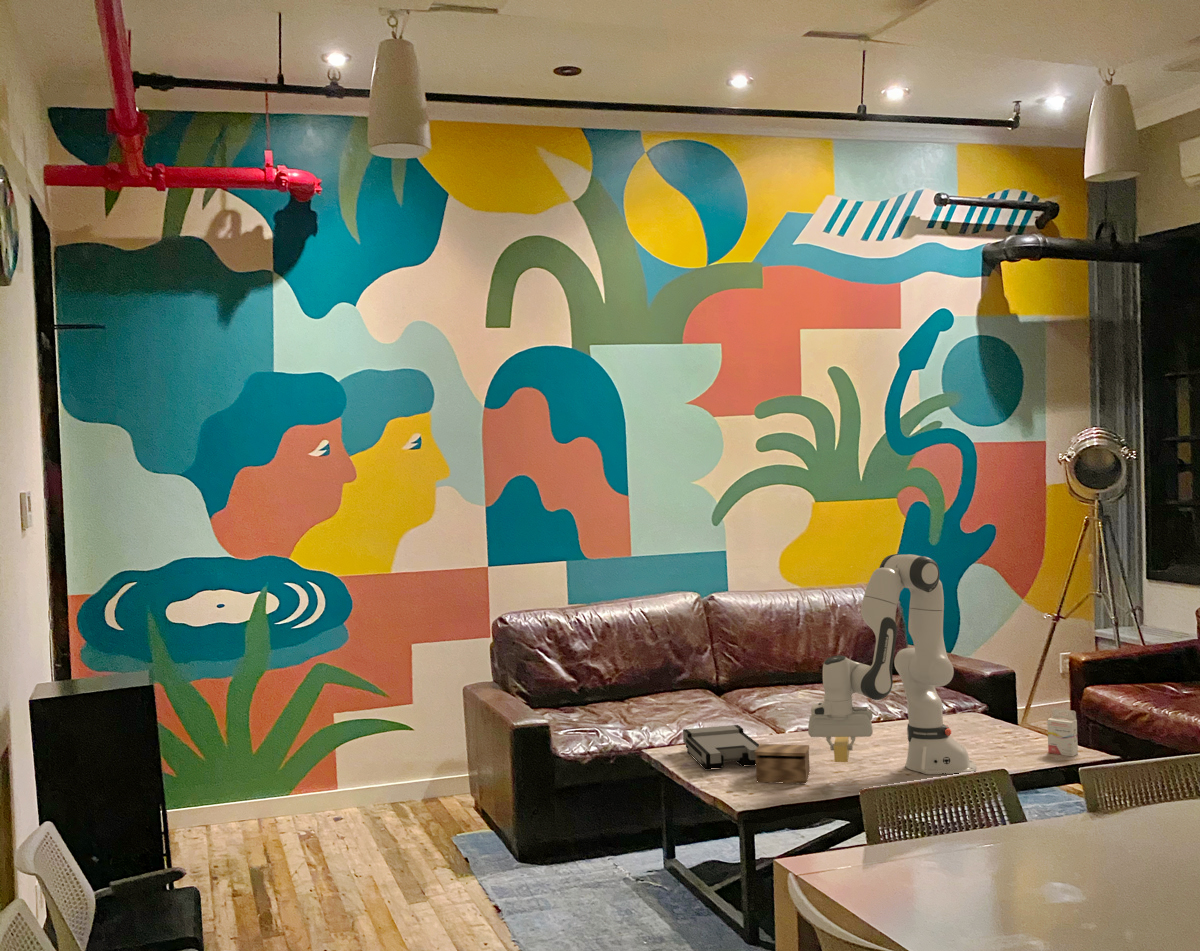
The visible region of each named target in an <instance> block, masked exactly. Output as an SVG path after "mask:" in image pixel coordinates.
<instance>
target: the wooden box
mask: <svg viewBox="0 0 1200 951" xmlns="http://www.w3.org/2000/svg"><path fill="white" fill-rule="evenodd" d="M755 760H756V765H755V777H756V778H755V779H756V781H755V782H756V783H757V781H758V782H783V783H782V784H788V783H806V782H807V783H808V780H809V776H810V773H809V772H811V770H810V767H811V766H810V749H809V750H808V752H807V754H806V756H771V755H757V756H756V758H755ZM808 775H809V776H808ZM807 779H808V780H807ZM807 783H806V784H807Z"/></svg>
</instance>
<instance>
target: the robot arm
mask: <svg viewBox="0 0 1200 951" xmlns="http://www.w3.org/2000/svg"><path fill="white" fill-rule="evenodd" d="M939 568H940V567H939V566H938V563H937V562H936V561H935V560H934V559H932V558H930V557H928V556H925V555H924V556H922V555H917V554H909V553H908V554H900V553H895V554H890V555H887V556H886V557H884V558H883V560H881V563H880V564H879V567H878V568H876V569H875V570H874V571H872V574H871V576H870V578H869V581H868V583H867V585H866V587H865V591H864V594H863V599H862V600H861V601H862V602H861V607H860V616H861V618H862V620H863V621H864V623H865V624H866V625H867V626H868V627H869V628H870V629H871V630H872V631H873V633H874V636H875V645H874V654H873V657H872V658H873V659H872V663H871V665H868V664H865V663H861V662H857V661H854V660H853V659H850V658H848V657H847V656H845V655H834V656H830V657H827V658H826V659H825V660H824V662H823V664H822V686H823V689H824V696H823V700H824V701H820V702H817V703H813V705H812V706H811V707H810V716H809V719H808V728H807V731H808V732H807V733H808V735H809V736H810V737H811V738H825V739H826V741H827V744H828V745H829V747H830V751H832V752H833V751H834V743H833V742H832V741H831V740H832V738H836V737H848V738H850V742H849V744H848V750H849V751H853V746H854V743H855V742H856V738H857V737H858V738H864V737H865V738H867V737H869V738H870V737H872V735H873V732H874V731H873V724H872V720H873V711H872V710H871V709H870V708H868V707H867V706H863V707H861V706H854V705H853V694H858V695H862V696H865V697H867V698H869V699H871V700H874V701H880V700H883V699H885V698H886V697H888V695H889V694H890V693H891V691H892V688H893V684H894V683H893V682H894V681H893V664H894V667H895V670H896V672H897V673H898V675H899V677H900V679H901V683H902V686H903V689H904V694H905V697H906V701H907V702H906V703H907V715H908V716H907V717H908V718H907V719H908V723H907V728H906V736H907V741H908V748H907V757H906V762H905V768H906V769H909V770H911V771H914V772H918V773H922V774H925V775H955V774H954V773H961V772H971V771H975V772H976V771H977V766H976V765H977V764H976V763H975V762H974V761H972V760H971V759H970V758H969V754H968V751H967V749H966V747H965V746H964V745H963V744H961V743H960V742H958V741H957V740H956V739H955V738H953V737H951V735H952V730H951V729H950V727H949V726H948V725H946V724H944V720H943V719H944V718H943V702H942V699H941V697H940V696H939V695H938V693H937V692H938V691H937V689H936V688H937V687H938V688H940V687H944V686H947V685H948V684H950V682H951V681H952V679H953V678H954V673H955V671H954V666H953V663H952V662H951V660H950V659H949V657H948V653H947V650H946V645H945V644H946V643H945V641H944V639H945V638H944V615H945V614H944V610H945V605H944V604H945V599H944V598H945V596H944V589H943V588H944V587H943V582H942V581H941V580H940V569H939ZM904 588H905V589H908V590H909V592H910V599H909V609H908V625H907V627H908V634H909V635H910V637H911V639H912V642H913V647H906V648H902V649H900V650H899V651H898V652H897V653H896V654H895V651H896V643H897V636H898V635H897V634H898V627H897V623H896V616H897V615H896V614H897V610H898V609H897V608H898V605H899V601H900V600H899V599H900V595H901V592H902V591H903V590H904ZM942 773H944V774H942ZM945 773H946V774H945Z"/></svg>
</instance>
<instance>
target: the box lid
mask: <svg viewBox="0 0 1200 951" xmlns="http://www.w3.org/2000/svg"><path fill="white" fill-rule="evenodd" d="M808 750H809V751H810V745H809V744H808V745H807V744H775V743H774V744H772V743H771V744H767V743H760V744H759V746H758V748H757V749H756V750H755V752H754V754H755V755H771V756H806V754H807V752H808Z"/></svg>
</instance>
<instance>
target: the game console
mask: <svg viewBox="0 0 1200 951" xmlns="http://www.w3.org/2000/svg"><path fill="white" fill-rule="evenodd" d="M682 740H683V743H684V744H685V748H686V749H687V753H688V755H690V754H691V755H692V756H693V757H694V758H695V759H696V760H697V761H698V762H699V763H700V764H701V765H702V766H703V767H704V768H705V769H711V768H722V769H723V767H725V763H726V762H727V763H728V762H736V761H737V762H738V763H737V762H736V763H737V764H739V765H740V764H741V765H742V766H744V765H755V764H756V760H755V758H756V756H757V755H755V754H754V752H755V750H756V749H757V748H758V746H759V745H760V744H759V743H758V742H757V741H755V740H754V739H752V738H751V737H750V736H749V735H748V734H746V733H745V732H744V728H742V727H741V726H740V725H738V724H733V725H731V724H730V725H719V726H707V727H706V726H705V727H695V728H685V729H682ZM691 755H690V756H691ZM692 756H691V757H692ZM693 757H692V758H693ZM694 758H693V759H694ZM695 759H694V760H695ZM696 760H695V761H696ZM697 761H696V762H697ZM698 762H697V763H698ZM699 763H698V764H699ZM700 764H699V765H700ZM701 765H700V766H701ZM741 765H740V766H741ZM702 766H701V767H702ZM742 766H741V767H742ZM755 766H756V765H755ZM703 767H702V768H703ZM744 767H745V766H744ZM704 768H703V769H704ZM705 769H704V770H705Z"/></svg>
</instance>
